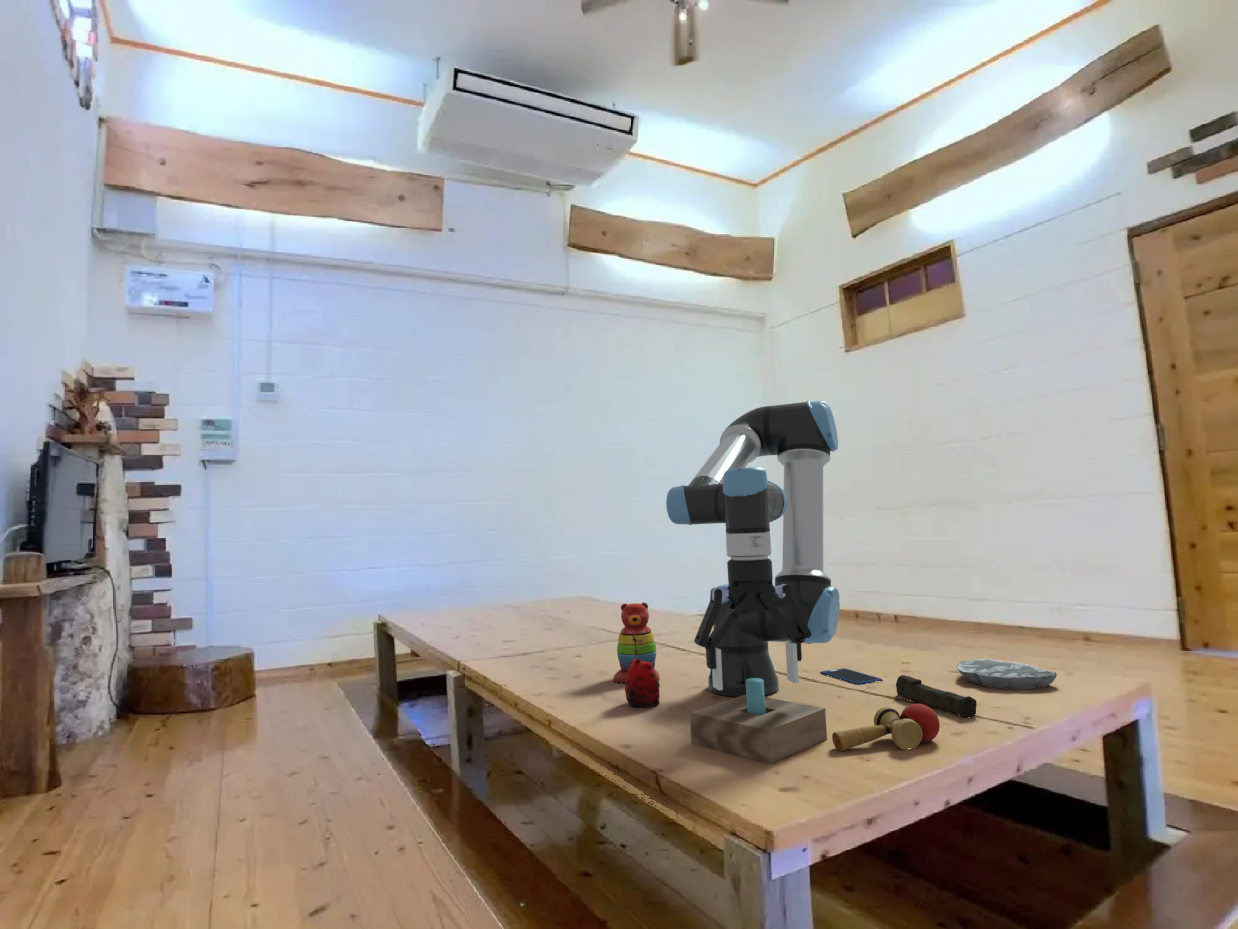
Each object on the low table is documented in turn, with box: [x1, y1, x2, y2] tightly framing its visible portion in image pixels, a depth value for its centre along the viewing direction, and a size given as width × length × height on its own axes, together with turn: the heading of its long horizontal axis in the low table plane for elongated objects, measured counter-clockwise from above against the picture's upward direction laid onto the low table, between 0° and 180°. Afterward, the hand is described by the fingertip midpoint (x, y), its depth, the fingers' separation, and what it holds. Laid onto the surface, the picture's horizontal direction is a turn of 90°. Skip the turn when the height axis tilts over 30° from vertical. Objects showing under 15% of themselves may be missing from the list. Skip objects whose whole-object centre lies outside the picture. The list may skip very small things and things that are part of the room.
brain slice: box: [955, 658, 1058, 690], centre depth 153 cm, size 20×17×3 cm
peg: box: [746, 678, 766, 716], centre depth 119 cm, size 3×3×10 cm
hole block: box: [689, 695, 828, 765], centre depth 119 cm, size 16×16×5 cm
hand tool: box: [895, 674, 978, 719], centre depth 137 cm, size 19×4×5 cm, turn 16°
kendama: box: [831, 703, 941, 753], centre depth 115 cm, size 8×6×18 cm
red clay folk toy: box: [624, 632, 661, 708], centre depth 146 cm, size 8×7×15 cm
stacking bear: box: [612, 602, 661, 683], centre depth 170 cm, size 11×10×18 cm
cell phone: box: [819, 667, 884, 686], centre depth 163 cm, size 7×14×1 cm, turn 20°
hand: (755, 685), depth 120 cm, fingers open, 13 cm apart
